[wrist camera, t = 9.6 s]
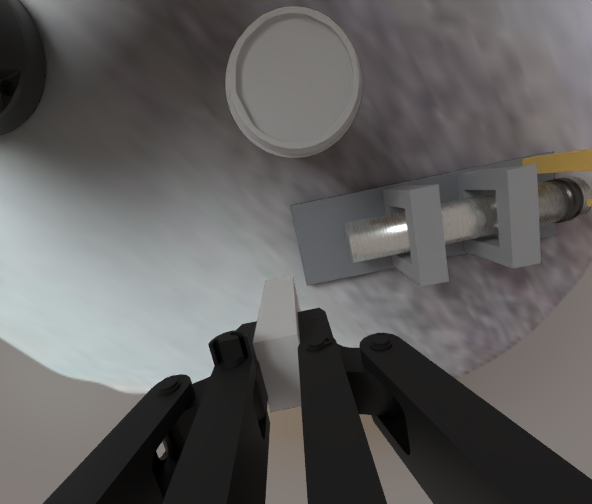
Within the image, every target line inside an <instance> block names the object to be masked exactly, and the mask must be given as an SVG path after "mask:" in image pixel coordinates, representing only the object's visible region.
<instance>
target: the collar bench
mask: <svg viewBox="0 0 592 504" xmlns="http://www.w3.org/2000/svg"><path fill="white" fill-rule="evenodd" d="M590 170H592V149H586V150H579V151H571V152H564V153H556V154H554V152H548V153H542V154H537V155H533V156H528V157H523V158H518V159H513V160H508V161H504V162H499V163H494V164H489V165H484V166H479V167H475V168H470V169H465V170H460V171H455V172H450V173H445V174H441V175H436V176H431V177H426V178H421V179H416V180H412V181H407V182H402V183H397V184H392V185H387V186H383V187H378V188H373V189H368V190H363V191H358V192H354V193H349V194H344V195H339V196H334V197H329V198H325V199H320V200H315V201H310V202H305V203H300V204H296V205H291V211H292V215H293V220H294V225H295V230H296V235H297V240H298V245H299V249H300V254H301V259H302V264H303V269H304V274H305V279H306V284H307V285H312V284H317V283H322V282H327V281H332V280H337V279H342V278H347V277H352V276H357V275H362V274H367V273H372V272H377V271H382V270H387V269H392V268H397V269H398V270H399V271H401V272H402V273H403V274H405V275H406V276H407V277H409V278H410V279H411V280H413V281H414V282H415V283H417V284H418V285H420V286H421V287H424V286H429V285H434V284H439V283H444V282H449V278H448V268H447V259H446V258H447V257H452V256H456V255H461V254H466V253H470V254H473V255H476V256H479V257H482V258H484V259H487V260H490V261H493V262H496V263H498V264H501V265H504V266H507V267H510V268H512V269H515V268H520V267H525V266H530V265H535V264H540V263H541V254H540V239H541V238H546V237H551V236H556V223H549V224H544V225H539V206H538V183H543V182H545V181H548V180H553V179H555V173H557V172H573V171H590ZM494 192H496V203H497V218H498V232H499V234H495V235H490V236H485V237H480V238H475V239H470V240H465V241H460V242H455V243H450V244H445V240H444V231H443V221H442V212H441V203H445V202H450V201H455V200H460V199H465V198H470V197H475V196H480V195H485V194H489V193H494ZM587 205H588V206H592V198H591V199H587ZM401 211H405V214H406V222H407V230H408V237H409V245H410V252H406V253H401V254H396V255H391V256H386V257H381V258H376V259H371V260H366V261H361V262H356V263H352V261H351V259H350V257H349V254H348V250H347V246H346V241H345V235H344V224H345V223H348V222H353V221H357V220H362V219H367V218H372V217H377V216H382V215H387V214H392V213H397V212H401Z"/></svg>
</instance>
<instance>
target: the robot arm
mask: <svg viewBox="0 0 592 504" xmlns="http://www.w3.org/2000/svg"><path fill="white" fill-rule="evenodd" d="M45 72H46V68H45V56H44V50H43V46H42V42H41V39H40V36H39V34H38V31H37V29H36V27H35V25H34V23H33V21H32V19H31V17H30V16H29V14H28V12H27V11H26V9H25V8H24V7H23V5H22V4H21V3H20V2H19V0H0V135H1V134H4V133H7V132H9V131H11V130H13V129H15V128H16V127H18V126H19V125H21V124H22V123H23V122H24V121H25V120H26V119H27V118H28V117H29V116H30V115H31V114H32V112H33V111H34V109H35V108H36V106H37V104H38V102H39V100H40V97H41V95H42V91H43V88H44V83H45ZM208 345H209V348H210V352H211V355H212V358H213V362H214V365H215V367H214V369H213V372H212V374H211V376H210V377H208V378H206V379H204V380H201V381H199V382H196V383H193V384H192V382H191V379H190V377H189V376H187V375H173V376H170V377H167V378H165V379H164V380H163V381H161V382H159V383H157V384H156V385H155V386H154V387H153V388H152V389H151V390H150V391H149V392H148V393H147V394H146V395H145V396H144V397H143V398H142V399H141V400H140V401H139V402H138V403H137V405H136V406H135V407H134V408H133V409H132V410H131V411H130V412H129V413H128V414H127V415H126V416H125V417H124V418H123V419H122V420H121V421H120V423H119V424H118V425H117V426H116V427H115V428H114V429H113V430H112V431H111V432H110V433H109V434H108V435H107V436H106V437H105V438H104V439H103V440H102V442H101V443H100V444H99V445H98V446H97V447H96V448H95V449H94V450H93V451H92V452H91V453H90V454H89V455H88V456H87V457H86V458H85V460H84V461H83V462H82V463H81V464H80V465H79V466H78V467H77V468H76V469H75V470H74V471H73V472H72V473H71V475H70V476H68V477H67V479H66V480H65V481H64V482H63V483H62V484H61V485H60V486H59V487H58V488H57V489H56V490H55V491H54V492H53V493H52V494H51V496H50V497H49V498H48V499H47V500H46V501H45V502H44V503H43V504H265V497H266V480H267V465H268V448H269V432H270V421H269V416H268V413H267V402H268V404H269V408H270V411H271V412H274V411H279V410H285V409H290V408H295V407H300V406H301V408H302V422H303V437H304V452H305V467H306V482H307V497H308V504H387V502H386V499H385V496H384V492H383V489H382V486H381V483H380V480H379V477H378V473H377V470H376V467H375V464H374V461H373V457H372V454H371V451H370V448H369V445H368V441H367V438H366V435H365V432H364V429H363V425H362V423H361V419H360V416H359V414H368V415H371V416H372V418H373V421H374V422H375V424H376V425H377V427H378V428H379V429H380V431H381V432H382V434H383V435H384V436H385V438H386V439H387V440H388V442H389V443H390V445H391V446H392V447H393V449H394V450H395V451H396V453H397V454H398V455H399V457H400V458H401V459H402V461H403V462H404V464H405V465H406V466H407V468H408V469H409V470H410V472H411V473H412V475H413V476H414V477H415V479H416V480H417V482H418V483H419V484H420V486H421V487H422V489H423V490H424V491H425V493H426V494H427V495H428V497H429V498H430V499H431V501H432V502H433V504H592V479H590V478H589V477H587V476H586V475H585V474H583V473H582V472H581V471H579V470H578V469H577V468H575V467H574V466H573V465H571V464H570V463H568V462H567V461H566V460H564V459H563V458H562V457H560V456H559V455H558V454H556V453H555V452H554V451H552V450H551V449H550V448H548V447H547V446H545V445H544V444H543V443H541V442H540V441H539V440H537V439H536V438H535V437H533V436H532V435H530V434H529V433H528V432H527V431H525V430H524V429H522V428H521V427H520V426H518V425H517V424H516V423H514V422H513V421H512V420H510V419H509V418H508V417H506V416H505V415H504V414H502V413H501V412H499V411H498V410H497V409H495V408H494V407H493V406H491V405H490V404H489V403H487V402H486V401H485V400H483V399H482V398H480V397H479V396H478V395H476V394H475V393H474V392H472V391H471V390H469V389H468V388H467V387H465V386H464V385H463V384H462V383H460V382H459V381H457V380H456V379H455V378H453V377H452V376H451V375H449V374H448V373H447V372H445V371H444V370H443V369H441V368H440V367H439V366H437V365H436V364H434V363H433V362H432V361H430V360H429V359H428V358H426V357H425V356H424V355H422V354H421V353H420V352H418V351H417V350H416V349H414V348H413V347H411V346H410V345H409V344H407V343H406V342H405V341H403V340H402V339H401V338H399V337H397V336H395V335H393V334H388V333H376V334H373V335H369V336H367V337H365V338H364V339H363V340H362V341H361V342H360V348H348V347H343V346H341V345H338V344H337V343H336V340H335V339H334V338H333V335H332V332H331V329H330V325H329V322H328V319H327V316H326V312H325V311H324V310H322V309H320V308H316V309H311V310H306V311H301V312H300V307H299V303H298V298H297V293H296V289H295V284H294V279H293V276H288V277H283V278H278V279H273V280H268V281H265V286H264V291H263V295H262V300H261V305H260V310H259V315H258V320H257V321H256V322H251V323H246V324H242V325H241V326H240V327H239V328H238V329H237V330H235V331H229V332H226V333H223V334H221V335H219V336H217V337H215V338H214V339H213V340H211V342H210V343H209V344H208ZM162 441H163V444H164V447H165V450H166V451H165V453H164V454H163V456H162V457H160V458H159V457H158V455H157V453H156V450H157V448H158V447H159V445H160V444H161V443H162Z"/></svg>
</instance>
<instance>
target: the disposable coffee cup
mask: <svg viewBox="0 0 592 504" xmlns="http://www.w3.org/2000/svg"><path fill="white" fill-rule="evenodd" d="M225 88H226V96H227V102H228V105H229V108H230V112H231V114H232V116H233V118H234V120H235V122H236V124H237V125H238V127H239V128H240V130H241V131H242V132H243V134H244V135H245V136H246V137H247V138H248V139H249V140H250V141H251V142H252V143H254V144H255V145H256V146H258V147H259V148H261V149H263V150H264V151H266V152H268V153H271V154H274V155H277V156H280V157H287V158H302V157H308V156H312V155H315V154H318V153H320V152H322V151H324V150H326V149H328V148H329V147H331V146H332V145H333V144H335V143H336V142H337V141H338V140H340V138H341V137H342V136H343V135H344V134H345V133H346V131H347V130H348V129H349V127H350V126H351V124H352V122H353V121H354V119H355V116H356V114H357V111H358V109H359V105H360V101H361V95H362V72H361V67H360V63H359V59H358V56H357V54H356V51H355V49H354V47H353V45H352V44H351V42H350V40H349V39H348V37H347V36H346V34H345V33H344V31H343V30H342V28H340V27H339V26H338V25H337V24H336V23H335V22H334V21H333V20H331V19H330V18H329V17H327V16H326V15H324V14H322V13H321V12H319V11H316V10H313V9H310V8H305V7H299V6H291V7H281V8H277V9H275V10H273V11H270V12H268V13H265V14H263V15H261V16H260V17H259V18H258V19H257V20H255V21H254V22H253V23H252V24H251V25H249V26H248V27H247V28H246V30H245V31H244V33H243V34H242V35H241V36H240V38H239V39H238V40H237V42H236V44H235V46H234V48H233V50H232V52H231V54H230V57H229V61H228V65H227V69H226V80H225Z"/></svg>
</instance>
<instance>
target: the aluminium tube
mask: <svg viewBox="0 0 592 504" xmlns="http://www.w3.org/2000/svg"><path fill="white" fill-rule="evenodd" d="M591 198H592V191H591V189H590V187H589V185H588V184H587V183H586V182H585V181H584V180H583V179H581V178H578V177H568V178H557V179H553V180H548V181H545V182H543V183H538V206H539V225H544V224H549V223H560V222H564V221H569V220H572V219H574V218H579V217H582V216H584V215H585V214H586V213H587V212H588V211H589V210H590V208H591V206H588V205H587V199H591ZM441 212H442V221H443V231H444V240H445V244H450V243H455V242H460V241H465V240H470V239H475V238H480V237H485V236H490V235H495V234H499V232H498V218H497V203H496V192H494V193H489V194H485V195H480V196H475V197H470V198H465V199H460V200H455V201H450V202H445V203H441ZM344 235H345V241H346V246H347V250H348V254H349V257H350V259H351V261H352V263H356V262H361V261H366V260H371V259H376V258H381V257H386V256H391V255H396V254H401V253H406V252H410V245H409V237H408V230H407V222H406V214H405V211H401V212H397V213H392V214H387V215H382V216H377V217H372V218H367V219H362V220H357V221H353V222H348V223H345V224H344Z"/></svg>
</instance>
